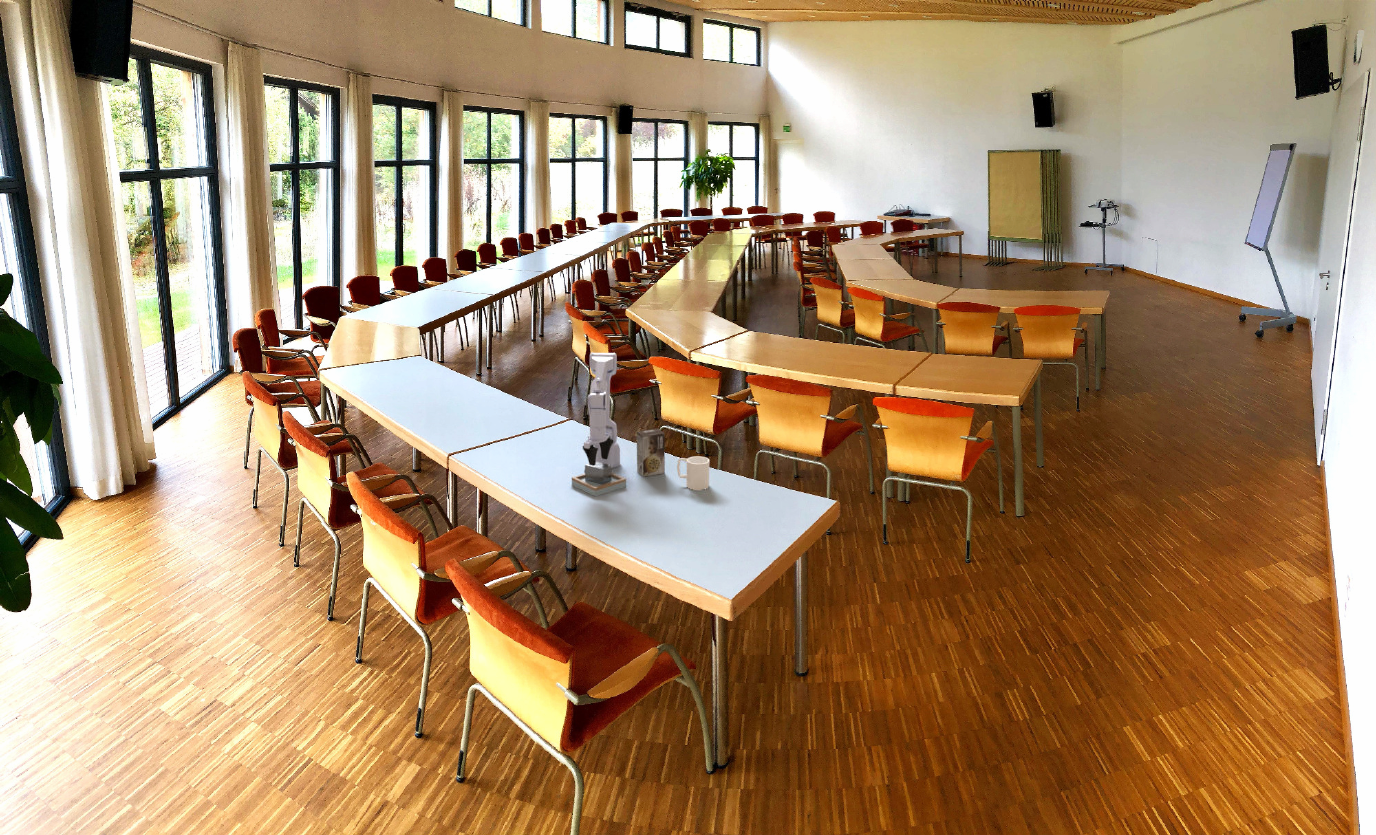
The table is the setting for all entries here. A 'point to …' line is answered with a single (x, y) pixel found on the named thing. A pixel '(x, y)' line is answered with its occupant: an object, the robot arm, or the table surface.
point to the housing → (598, 473)
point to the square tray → (597, 488)
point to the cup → (696, 472)
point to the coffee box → (650, 452)
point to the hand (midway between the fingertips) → (598, 461)
